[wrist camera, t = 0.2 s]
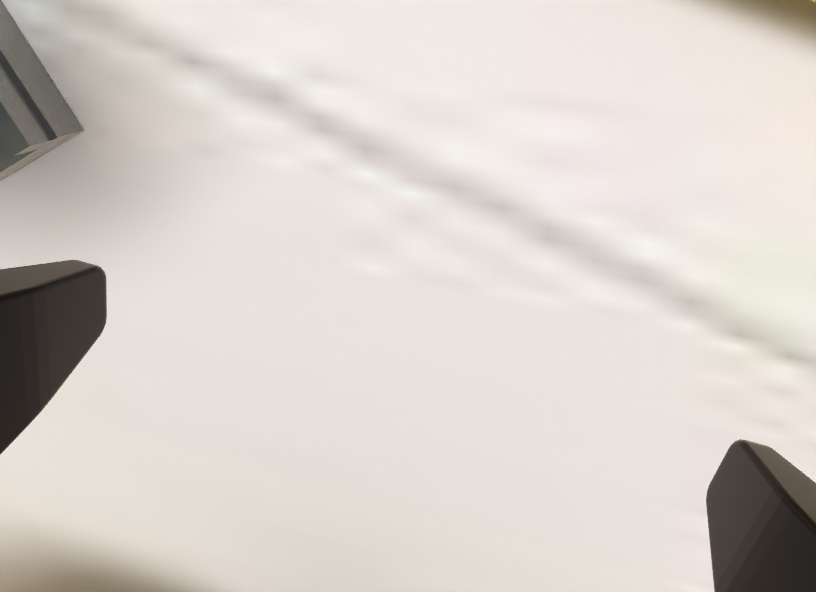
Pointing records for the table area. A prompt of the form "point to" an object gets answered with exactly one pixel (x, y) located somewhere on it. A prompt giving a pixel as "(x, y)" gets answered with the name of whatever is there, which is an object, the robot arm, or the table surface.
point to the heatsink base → (27, 103)
